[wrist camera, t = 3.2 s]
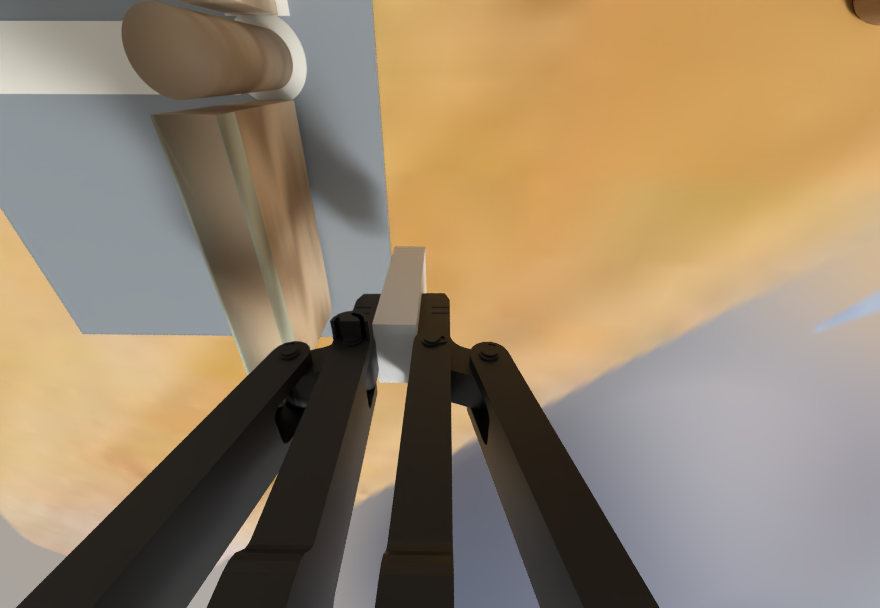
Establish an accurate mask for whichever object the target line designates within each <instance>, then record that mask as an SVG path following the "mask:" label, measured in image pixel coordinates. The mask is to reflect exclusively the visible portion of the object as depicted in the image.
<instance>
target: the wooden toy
mask: <svg viewBox="0 0 880 608" xmlns="http://www.w3.org/2000/svg"><path fill="white" fill-rule="evenodd" d="M853 6H854V9H855V13H856V15H857V16H858V17H859V18H860V19H861V20H863V21H864V22H866V23H869V24H873V25H880V0H853Z"/></svg>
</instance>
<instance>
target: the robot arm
mask: <svg viewBox="0 0 880 608" xmlns="http://www.w3.org/2000/svg"><path fill="white" fill-rule="evenodd" d="M330 324H331V329H332V334H333V339H334V340H333V343H332V345H329V346H327V347H323V348H318V349H314V350H310V347H309V346H308V344H307V343H304V342H301V341H292V342H287V343H284V344H282V345H279V346H278V347H277V348H275V349H274V350H273V351H272V352H271V353H270V354H269V355H268V356H267V357H266V358H265V359H264V360H263V361H262V362H261V363H260V364H259V365H258V366H257V367H256V368H255V369H254V370H253V371H252V372H251V373H250V374H249V375H248V376H247V377H246V378H245V379H244V380H243V381H242V382H241V383H240V384H239V385H238V386H237V387H236V388H235V389H234V390H233V391H232V392H231V393H230V394H229V395H228V396H227V397H226V398H225V399H224V400H223V401H222V402H221V403H220V404H219V405H218V406H217V407H216V408H215V409H214V410H213V411H212V412H211V413H210V414H209V415H208V416H207V417H206V418H205V419H204V420H203V421H202V422H201V423H200V424H199V425H198V426H197V427H196V428H195V429H194V430H193V431H192V432H191V433H190V434H189V435H188V436H187V437H186V438H185V439H184V440H183V441H182V442H181V443H180V444H179V445H178V446H177V447H176V448H175V449H174V450H173V451H172V452H171V453H170V454H169V455H168V456H167V457H166V458H165V459H164V460H163V461H162V462H161V463H160V464H159V465H158V466H157V467H156V468H155V469H154V470H153V471H152V472H151V473H150V474H149V475H148V476H147V477H146V478H145V479H144V480H143V481H142V482H141V483H140V484H139V485H138V486H137V487H136V488H135V489H134V490H133V491H132V492H131V493H130V494H129V495H128V496H127V497H126V498H125V499H124V500H123V501H122V502H121V503H120V504H119V505H118V506H117V507H116V508H115V509H114V510H113V511H112V512H111V513H110V514H109V515H108V516H107V517H106V518H105V519H104V520H103V521H102V522H101V523H100V524H99V525H98V526H97V527H96V528H95V529H94V530H93V531H92V532H91V533H90V534H89V535H88V536H87V537H86V538H85V539H84V540H83V541H82V542H81V543H80V544H79V545H78V546H77V547H76V548H75V549H74V550H73V551H72V552H71V553H70V554H69V555H68V556H67V557H66V558H65V559H64V560H63V561H62V562H61V563H60V564H59V565H58V566H57V567H56V568H55V569H54V570H53V571H52V572H51V573H50V574H49V575H48V576H47V577H46V578H45V579H44V580H43V581H42V582H41V583H40V584H39V585H38V586H37V587H36V588H35V589H34V590H33V591H32V592H31V593H30V594H29V595H28V596H27V597H26V598H25V599H24V600H23V601H22V602H21V603H20V604H19V605H18V606H17V607H16V608H186V607H187V606H188V605H189V603H190V602H191V600H192V599H193V597H194V596H195V594H196V593H197V591H198V590H199V588H200V587H201V586H202V584H203V582H204V581H205V580H206V578H207V576H208V575H209V574H210V572H211V571H212V569H213V568H214V566H215V565H216V563H217V562H218V561H219V559H220V558H221V556H222V555H223V553H224V552H225V550H226V549H227V547H228V546H229V544H230V543H231V541H232V540H233V538H234V537H235V536H236V534H237V533H238V531H239V530H240V528H241V527H242V525H243V524H244V522H245V521H246V519H247V518H248V516H249V515H250V514H251V512H252V511H253V509H254V508H255V506H256V505H257V503H258V502H259V500H260V499H261V497H262V496H263V494H264V493H265V491H266V490H267V489H268V487H269V486H270V484H271V483H272V481H273V480H274V478H275V477H276V475H277V474H278V475H277V478H276V480H275V483H274V485H273V487H272V490H271V492H270V495H269V497H268V499H267V502H266V504H265V507H264V509H263V512H262V514H261V516H260V519H259V521H258V524H257V526H256V528H255V531H254V533H253V536H252V538H251V540H250V542H249V544H248V545H247V546H246V548H245V549H243V550H241V551H238V552H236V553H235V554H234V555H233V556H232V557H231V558H230V560H229V561H228V563H227V565H226V567H225V569H224V571H223V572H222V575H221V577H220V579H219V581H218V583H217V586H216V588H215V590H214V592H213V595H212V597H211V599H210V602H209V604H208V606H207V608H333V604H334V596H335V591H336V586H337V581H338V577H339V572H340V567H341V563H342V558H343V553H344V548H345V544H346V539H347V534H348V529H349V525H350V520H351V515H352V511H353V506H354V501H355V496H356V492H357V487H358V482H359V477H360V473H361V468H362V463H363V458H364V454H365V449H366V444H367V439H368V435H369V430H370V425H371V420H372V416H373V411H374V406H375V401H376V397H377V384H376V381H377V377H378V376H379V383H408V387H407V395H406V403H405V411H404V418H403V426H402V434H401V442H400V450H399V458H398V466H397V474H396V481H395V490H394V497H393V505H392V513H391V521H390V529H389V537H388V544H387V549H386V551H385V553H384V554H383V558H382V562H381V568H380V574H379V581H378V588H377V596H376V603H375V608H454V573H453V572H454V568H453V545H452V544H453V540H452V539H453V537H452V442H451V402H452V403H456V404H459V405H463V406H466V407H467V411H468V414H469V416H470V419H471V422H472V424H473V427H474V430H475V433H476V435H477V438H478V441H479V443H480V446H481V449H482V452H483V454H484V457H485V459H486V462H487V465H488V468H489V470H490V473H491V476H492V478H493V481H494V484H495V486H496V489H497V492H498V495H499V498H500V500H501V503H502V506H503V508H504V511H505V514H506V516H507V519H508V522H509V525H510V527H511V530H512V532H513V535H514V538H515V541H516V543H517V546H518V549H519V552H520V554H521V557H522V560H523V562H524V565H525V568H526V571H527V573H528V576H529V579H530V581H531V584H532V587H533V589H534V592H535V595H536V598H537V600H538V603H539V606H540V608H659V606H658V604H657V603H656V601H655V599H654V598H653V596H652V594H651V592H650V591H649V589H648V587H647V586H646V584H645V582H644V581H643V579H642V577H641V576H640V574H639V572H638V571H637V569H636V567H635V566H634V564H633V562H632V560H631V559H630V557H629V555H628V554H627V552H626V550H625V549H624V547H623V545H622V544H621V542H620V540H619V538H618V537H617V535H616V533H615V532H614V530H613V528H612V527H611V525H610V523H609V522H608V520H607V519H606V517H605V515H604V513H603V512H602V510H601V508H600V506H599V505H598V503H597V501H596V500H595V498H594V496H593V495H592V493H591V491H590V489H589V488H588V486H587V484H586V483H585V481H584V479H583V478H582V476H581V474H580V473H579V471H578V469H577V467H576V466H575V464H574V463H573V461H572V459H571V457H570V456H569V454H568V452H567V451H566V449H565V447H564V446H563V444H562V442H561V440H560V439H559V437H558V435H557V434H556V432H555V430H554V429H553V427H552V425H551V424H550V422H549V420H548V419H547V417H546V415H545V413H544V412H543V410H542V408H541V407H540V405H539V403H538V402H537V400H536V398H535V397H534V395H533V393H532V391H531V390H530V388H529V386H528V385H527V383H526V381H525V380H524V378H523V376H522V375H521V373H520V371H519V370H518V368H517V366H516V364H515V363H514V361H513V359H512V358H511V356H510V354H509V353H508V351H507V350H506V349H505V348H504V347H503V346H501V345H499V344H497V343H493V342H482V343H478V344H476V345H474V346H473V347H472V348H471V349H467V348H464V347H461V346H459V345H457V344H456V343H454V342H453V341H452V339H451V337H450V301H449V299H448V297H447V296H446V295H445V293H426V253H425V247H395V248H394V252H393V255H392V258H391V262H390V265H389V269H388V272H387V275H386V279H385V282H384V286H383V289H382V293H381V294H363V295H362V296H361V297H359V298H358V299H357V300H356V303H355V305H354V308H353V310H352V311H346V312H342V313H339V314H337V315H336V316H334V317H333V318H332V319H331V320H330ZM278 472H279V473H278Z"/></svg>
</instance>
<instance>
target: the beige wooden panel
mask: <svg viewBox="0 0 880 608" xmlns="http://www.w3.org/2000/svg"><path fill="white" fill-rule="evenodd" d="M177 1H181V2H185V3H189V4H192V5H196V6H200V7H204V8H208V9H211V10H215V11H219V12H223V13H227V14H231V15H278V12H277V6H276V1H275V0H177ZM121 35H122V42H123V47H124V50H125V53H126V55H127V58H128V60H129V62H130V64H131V66H132V67H133V69H134V70H135V72H136V73H137V74H138V76H139V77H140V78H141V79H142V80H143V81H144V82H145V83H146V84H147V85H148V86H149V87H150V88H152V89H153V90H154V91H156V92H158V93H159V94H161V95H163V96H165V97H168V98H171V99H175V100H188V99H197V98H206V97H216V96H225V95H234V94H243V93H252V92H261V91H270V90H278V89H280V88H282V87H284V86H285V85H286V84H287V83H288V82H289V80H290V78H291V76H292V72H293V61H292V56H291V53H290V50H289V48H288V46H287V45H286V43H285V42H284V40H283V39H282V38H281V37H280V36H279V35H278V34H277V33H275V32H274V31H272V30H270V29H267V28H264V27H260V26H255V25H251V24H247V23H243V22H239V21H235V20H230V19H226V18H222V17H218V16H214V15H210V14H205V13H201V12H197V11H193V10H189V9H185V8H180V7H176V6H172V5H168V4H164V3H159V2H155V1H142V2H139V3H137V4H135V5H133V6H132V7H131V8H130V9H129V10H128V11H127V12H126V14H125V16H124V19H123V22H122V29H121Z"/></svg>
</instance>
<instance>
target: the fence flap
mask: <svg viewBox="0 0 880 608" xmlns="http://www.w3.org/2000/svg"><path fill="white" fill-rule="evenodd" d="M150 117H151V120H152V122H153V125H154V128H155V130H156V133H157V136H158V138H159V141H160V144H161V146H162V149H163V152H164V154H165V157H166V159H167V162H168V165H169V167H170V170H171V173H172V175H173V178H174V181H175V183H176V186H177V189H178V191H179V194H180V197H181V199H182V202H183V205H184V207H185V210H186V213H187V215H188V218H189V220H190V223H191V226H192V228H193V231H194V234H195V236H196V239H197V242H198V244H199V247H200V250H201V252H202V255H203V258H204V260H205V263H206V266H207V268H208V271H209V274H210V276H211V279H212V282H213V284H214V287H215V289H216V292H217V295H218V297H219V300H220V303H221V305H222V308H223V311H224V313H225V316H226V319H227V321H228V324H229V327H230V329H231V332H232V335H233V337H234V340H235V343H236V345H237V348H238V351H239V353H240V356H241V358H242V361H243V364H244V366H245V369H246V372H247V374H248V375H249V374H250V373H251V372H252V371H253V370H254V369H255V368H256V367H257V366H258V365H259V364H260V363H261V362H262V361H263V360H264V359H265V358H266V357H267V356H268V355H269V354H270V353H271V352H272V351H273V350H274V349H275V348H277V347H278V346H279V345H282V344H284V343H287V342H292V341H301V342H304V343H307V344H308V346H309V347H310V350H314V349H315V347H316V345H317V343H318V340H319V338H320V336H321V334H322V332H323V330H324V328H325V326H326V324H327V321H328V319H329V317H330V315H331V313H332V311H333V309H332V304H331V298H330V293H329V287H328V282H327V277H326V271H325V266H324V260H323V255H322V250H321V244H320V239H319V233H318V228H317V223H316V217H315V212H314V206H313V201H312V195H311V190H310V185H309V179H308V174H307V168H306V163H305V158H304V152H303V147H302V141H301V136H300V131H299V125H298V120H297V114H296V109H295V103H294V100H248V101H242V102H235V103H228V104H221V105H215V106H208V107H201V108H194V109H187V110H181V111H174V112H164V113H157V114H150Z"/></svg>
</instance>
